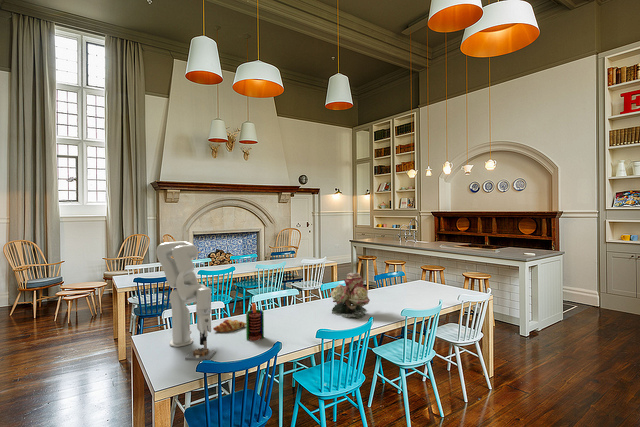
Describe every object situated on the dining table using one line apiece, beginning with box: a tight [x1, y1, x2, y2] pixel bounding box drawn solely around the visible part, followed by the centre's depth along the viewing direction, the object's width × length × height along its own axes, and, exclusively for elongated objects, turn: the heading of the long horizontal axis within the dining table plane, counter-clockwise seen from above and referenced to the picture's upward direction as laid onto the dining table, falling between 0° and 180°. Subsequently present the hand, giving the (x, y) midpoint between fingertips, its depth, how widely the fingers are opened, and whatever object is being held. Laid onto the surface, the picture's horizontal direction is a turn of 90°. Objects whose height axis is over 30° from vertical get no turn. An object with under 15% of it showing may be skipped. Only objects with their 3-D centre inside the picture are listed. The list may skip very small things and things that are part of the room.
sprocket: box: [192, 341, 210, 357], centre depth 184 cm, size 8×8×6 cm
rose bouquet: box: [329, 271, 371, 320], centre depth 255 cm, size 26×29×30 cm
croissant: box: [213, 319, 246, 333], centre depth 225 cm, size 21×10×8 cm, turn 122°
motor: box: [245, 303, 265, 342], centre depth 209 cm, size 10×9×20 cm
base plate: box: [185, 349, 217, 361], centre depth 184 cm, size 10×12×2 cm
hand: (203, 344), depth 188 cm, fingers closed
